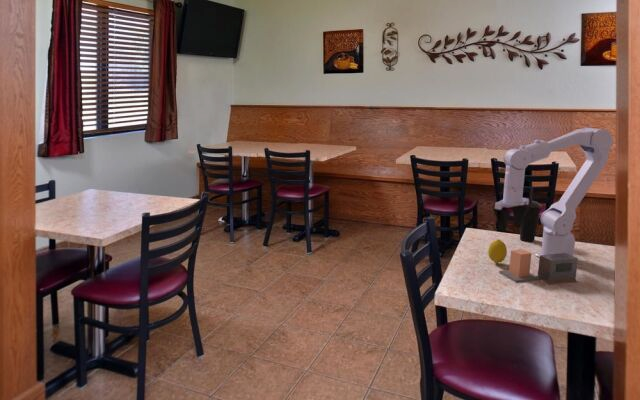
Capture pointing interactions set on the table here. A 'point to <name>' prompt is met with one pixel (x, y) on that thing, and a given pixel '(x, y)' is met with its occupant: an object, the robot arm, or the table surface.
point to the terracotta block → (520, 263)
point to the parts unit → (557, 268)
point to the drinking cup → (530, 221)
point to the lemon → (497, 251)
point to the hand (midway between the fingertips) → (509, 228)
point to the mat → (519, 279)
